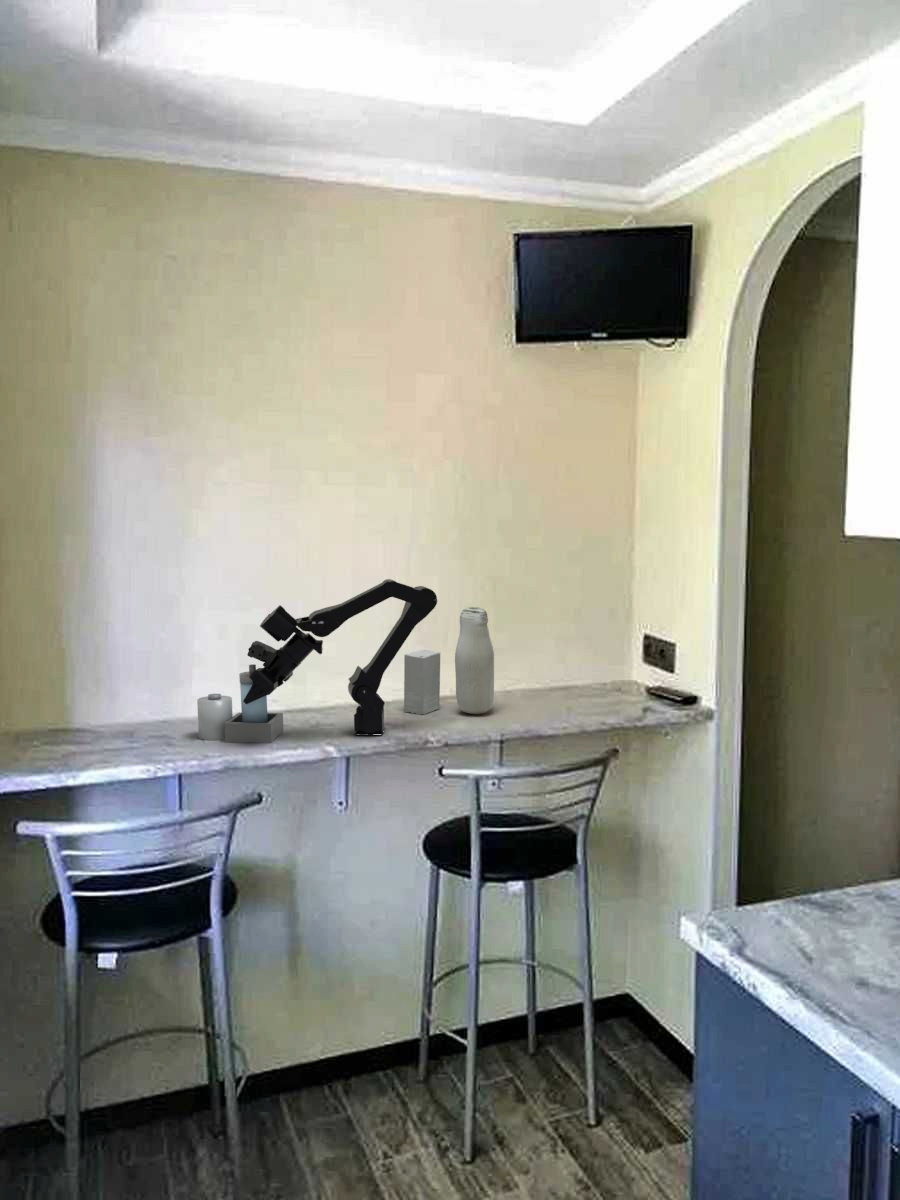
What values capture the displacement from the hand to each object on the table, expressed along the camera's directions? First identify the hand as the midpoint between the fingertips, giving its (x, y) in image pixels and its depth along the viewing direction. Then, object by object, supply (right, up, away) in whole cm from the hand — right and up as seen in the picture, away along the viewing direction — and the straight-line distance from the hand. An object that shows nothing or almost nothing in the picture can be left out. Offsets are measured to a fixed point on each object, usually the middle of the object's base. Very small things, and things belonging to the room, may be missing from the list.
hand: (248, 699), depth 225 cm
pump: (+1, -7, +1) cm, 7 cm away
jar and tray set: (-2, -9, +1) cm, 9 cm away
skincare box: (+40, -6, +27) cm, 49 cm away
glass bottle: (+54, -6, +24) cm, 59 cm away
